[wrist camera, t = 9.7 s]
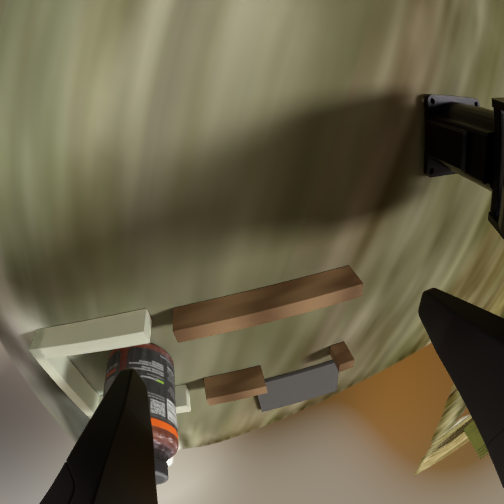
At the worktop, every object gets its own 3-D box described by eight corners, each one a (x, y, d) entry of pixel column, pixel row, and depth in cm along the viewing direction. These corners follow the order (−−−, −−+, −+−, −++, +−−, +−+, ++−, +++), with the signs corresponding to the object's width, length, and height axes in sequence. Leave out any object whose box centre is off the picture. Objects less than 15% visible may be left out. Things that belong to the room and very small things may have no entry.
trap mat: (338, 358, 30) (339, 360, 29) (335, 387, 33) (336, 390, 33) (253, 382, 29) (254, 385, 29) (261, 409, 32) (262, 411, 32)
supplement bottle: (112, 376, 25) (103, 484, 16) (106, 333, 23) (87, 458, 13) (172, 382, 27) (180, 490, 17) (176, 340, 24) (184, 468, 15)
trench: (348, 265, 24) (363, 283, 22) (343, 349, 29) (353, 367, 27) (172, 308, 22) (172, 331, 20) (207, 384, 28) (209, 405, 26)
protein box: (462, 429, 76) (479, 459, 63) (486, 405, 69) (506, 437, 56) (477, 420, 79) (494, 448, 65) (500, 396, 71) (520, 425, 58)
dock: (146, 308, 22) (143, 331, 20) (189, 390, 28) (190, 411, 26) (37, 329, 21) (28, 349, 19) (95, 402, 27) (93, 421, 25)
